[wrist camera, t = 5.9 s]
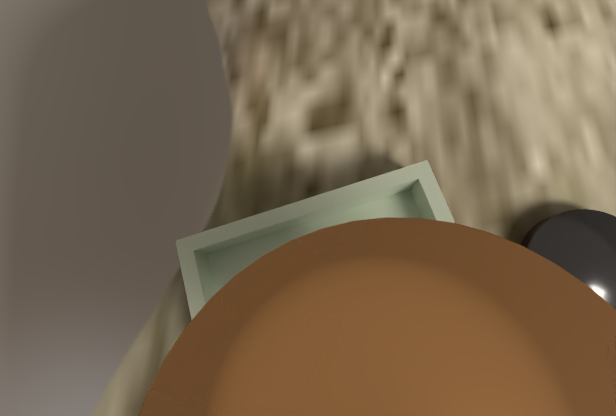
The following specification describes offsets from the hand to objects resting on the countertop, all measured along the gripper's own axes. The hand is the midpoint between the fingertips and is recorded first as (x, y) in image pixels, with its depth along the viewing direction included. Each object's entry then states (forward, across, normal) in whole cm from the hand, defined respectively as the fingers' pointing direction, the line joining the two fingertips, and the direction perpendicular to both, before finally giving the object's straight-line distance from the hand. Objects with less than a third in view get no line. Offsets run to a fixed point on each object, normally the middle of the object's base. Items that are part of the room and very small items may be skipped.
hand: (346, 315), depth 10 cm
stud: (+6, -13, +6) cm, 16 cm away
